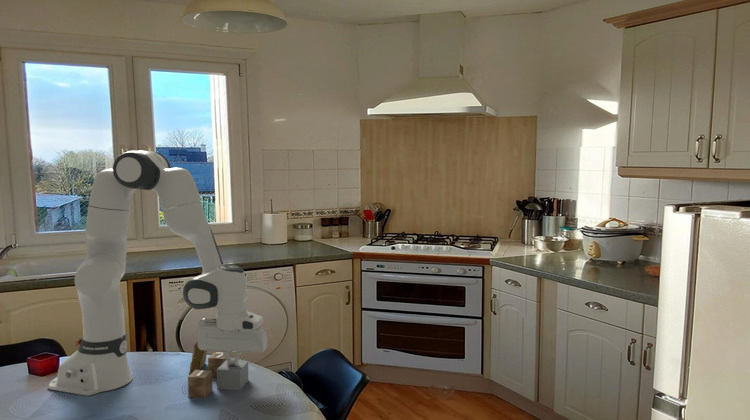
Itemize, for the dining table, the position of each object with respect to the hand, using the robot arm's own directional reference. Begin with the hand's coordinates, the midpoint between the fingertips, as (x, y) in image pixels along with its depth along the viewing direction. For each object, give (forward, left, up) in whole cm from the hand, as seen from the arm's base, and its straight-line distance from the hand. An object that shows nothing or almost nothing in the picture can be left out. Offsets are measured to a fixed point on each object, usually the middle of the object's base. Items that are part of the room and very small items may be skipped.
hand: (232, 364), depth 161 cm
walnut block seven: (-7, +7, -6) cm, 12 cm away
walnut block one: (-7, -7, -6) cm, 12 cm away
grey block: (0, 0, -6) cm, 6 cm away
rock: (-16, +10, -6) cm, 20 cm away
